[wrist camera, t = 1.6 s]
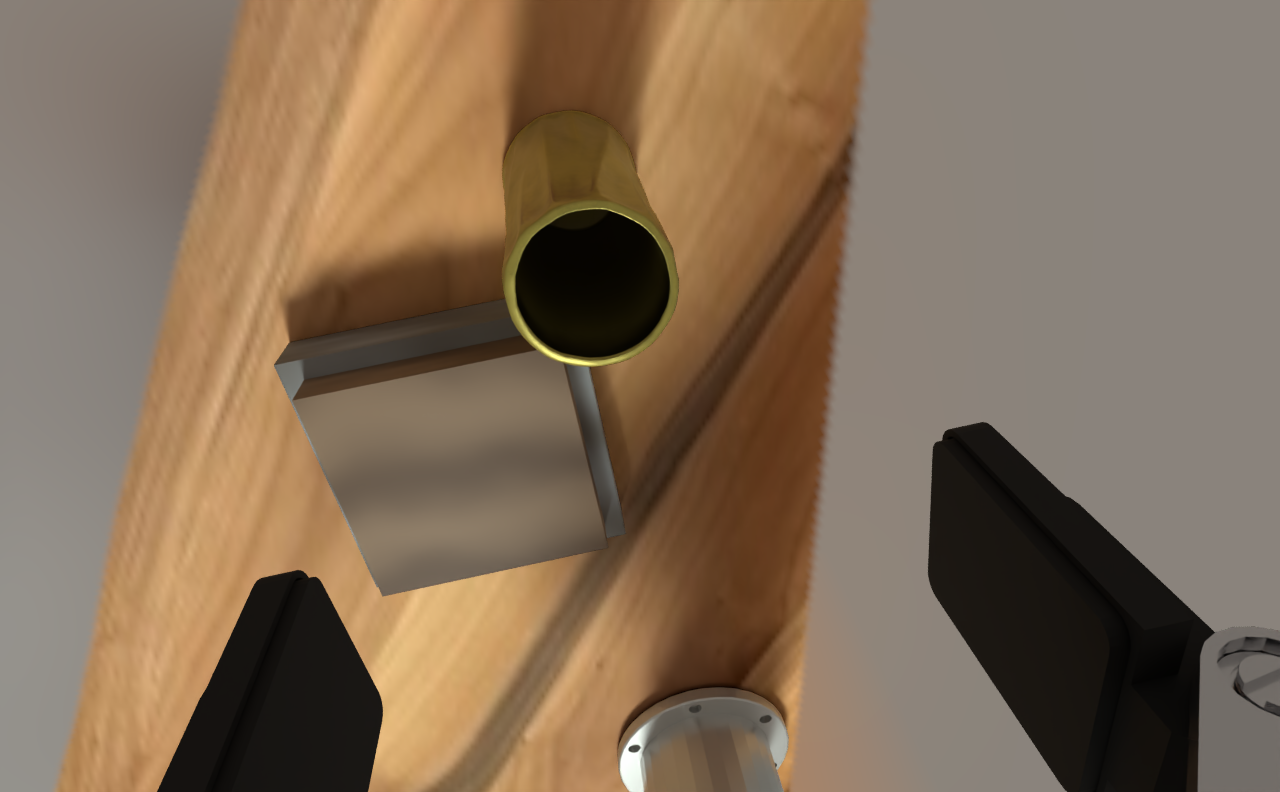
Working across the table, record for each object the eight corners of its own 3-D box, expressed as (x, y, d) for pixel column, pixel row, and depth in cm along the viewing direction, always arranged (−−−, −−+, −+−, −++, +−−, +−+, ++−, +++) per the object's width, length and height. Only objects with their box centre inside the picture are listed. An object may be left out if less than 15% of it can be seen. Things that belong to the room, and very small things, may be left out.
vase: (589, 80, 32) (626, 139, 20) (660, 199, 35) (731, 315, 23) (474, 159, 33) (442, 261, 21) (553, 268, 36) (565, 415, 24)
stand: (621, 506, 43) (630, 558, 40) (384, 557, 43) (370, 614, 39) (571, 285, 37) (576, 321, 33) (289, 342, 36) (259, 385, 32)
